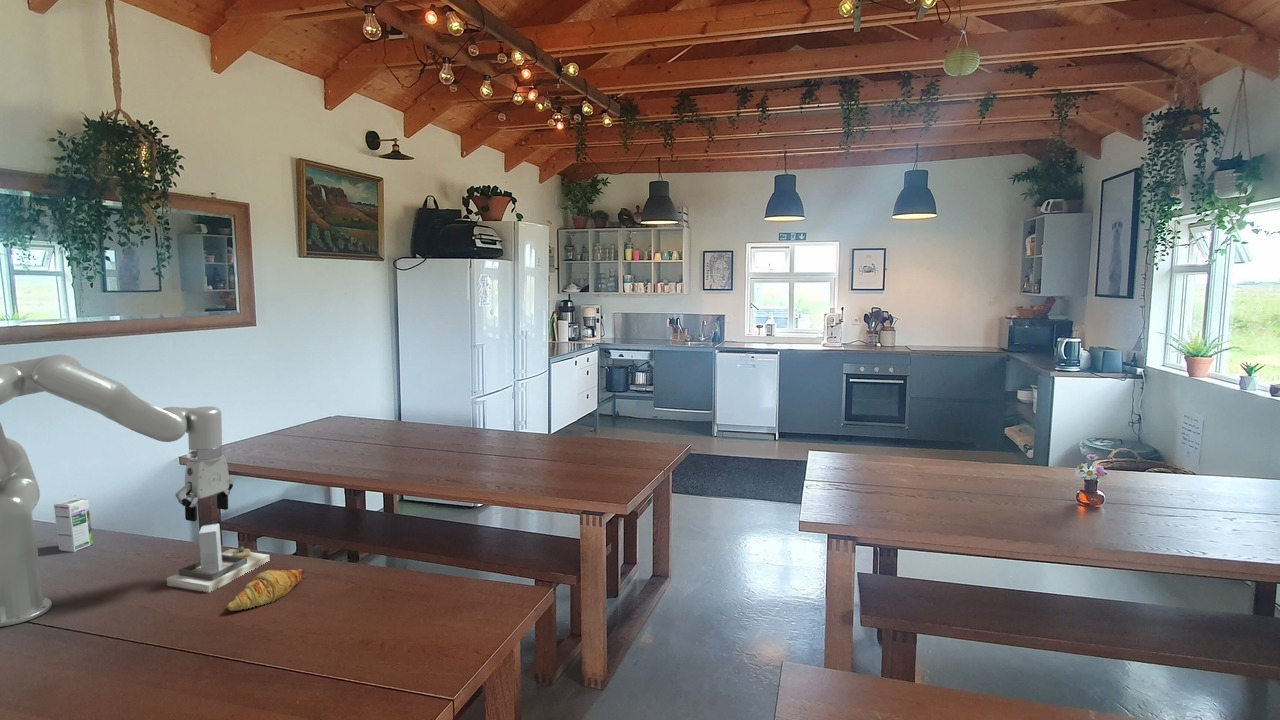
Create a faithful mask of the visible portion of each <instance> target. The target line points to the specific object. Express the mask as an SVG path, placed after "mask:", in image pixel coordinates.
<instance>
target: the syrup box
mask: <svg viewBox="0 0 1280 720" xmlns="http://www.w3.org/2000/svg"><path fill="white" fill-rule="evenodd" d="M53 508H54V509H53V510H54V518H55V524H56V526H55V527H56V535H57V542H58V550H59V551H64V552H70V553H75V552H77V551H79V550H83V549H85V548H88V547H90V546H93V545H94V541H93V534H92V533H93V531H92V523H91V514H90V505H89V499H87V498H81V497H73V498H70V499H68V500H64V501H62V502H58V503H55V504H54V505H53Z"/></svg>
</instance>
